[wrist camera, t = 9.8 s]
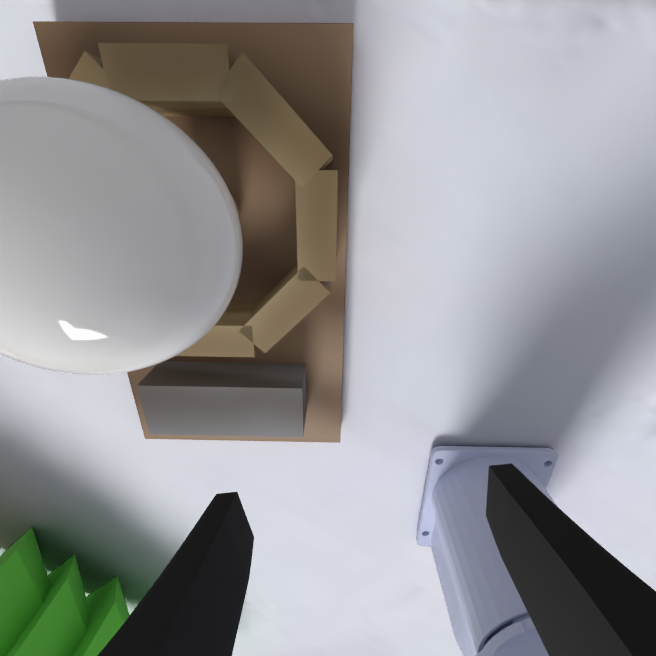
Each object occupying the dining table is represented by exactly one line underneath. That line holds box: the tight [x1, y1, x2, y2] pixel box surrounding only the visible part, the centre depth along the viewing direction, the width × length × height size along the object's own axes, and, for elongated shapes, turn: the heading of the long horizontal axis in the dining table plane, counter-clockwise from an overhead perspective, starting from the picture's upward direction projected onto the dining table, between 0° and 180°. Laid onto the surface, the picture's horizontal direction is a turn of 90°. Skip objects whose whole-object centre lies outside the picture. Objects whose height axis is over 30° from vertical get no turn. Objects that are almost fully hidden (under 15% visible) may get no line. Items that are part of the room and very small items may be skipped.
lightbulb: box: [0, 77, 243, 375], centre depth 10 cm, size 6×6×11 cm
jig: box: [33, 22, 353, 442], centre depth 16 cm, size 20×12×4 cm, turn 179°
